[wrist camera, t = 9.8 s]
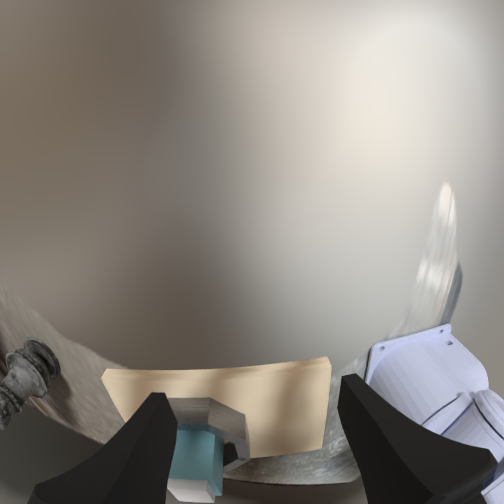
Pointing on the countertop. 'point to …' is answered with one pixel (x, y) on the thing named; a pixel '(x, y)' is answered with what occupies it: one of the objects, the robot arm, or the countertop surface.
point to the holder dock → (238, 404)
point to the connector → (197, 467)
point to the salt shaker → (26, 377)
